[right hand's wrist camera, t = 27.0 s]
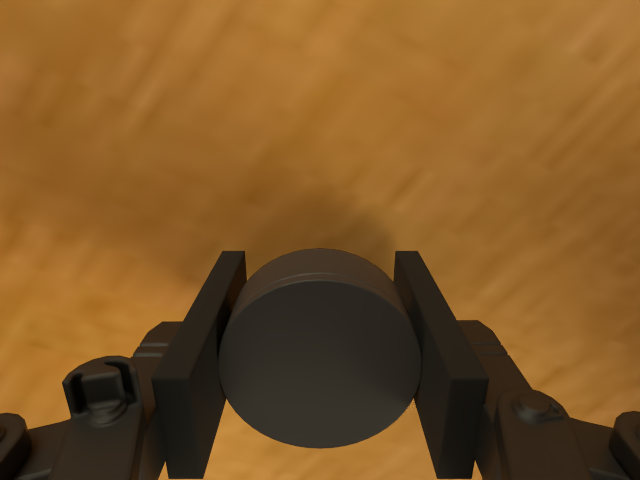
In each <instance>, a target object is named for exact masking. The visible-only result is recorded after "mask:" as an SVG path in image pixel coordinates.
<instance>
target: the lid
mask: <svg viewBox="0 0 640 480" xmlns="http://www.w3.org/2000/svg"><path fill="white" fill-rule="evenodd" d="M218 369H219V378H220V384H221V387H222V389H223V392H224V394H225V396H226V398H227V400H228V402H229V404H230V405H231V406H232V408H233V409H234V410H235V412H236V413H237V414H238V415H239V416H240V417H241V418H242V419H243V420H244V421H245V422H246V423H248V424H249V425H250V426H251V427H252V428H254V429H256V430H257V431H259V432H260V433H262V434H264V435H266V436H268V437H270V438H272V439H274V440H277V441H280V442H283V443H286V444H290V445H294V446H299V447H306V448H334V447H341V446H346V445H350V444H354V443H358V442H360V441H363V440H366V439H368V438H370V437H372V436H374V435H376V434H378V433H380V432H381V431H383V430H384V429H386V428H387V427H389V426H390V425H391V424H392V423H394V422H395V421H396V420H397V419H398V418H399V417H400V416H401V415H402V414H403V413H404V412H405V410H406V409H407V407H408V406H409V405H410V403H411V402H412V400H413V398H414V396H415V394H416V392H417V389H418V386H419V383H420V379H421V372H422V353H421V347H420V344H419V341H418V338H417V335H416V332H415V330H414V327H413V324H412V321H411V319H410V316H409V313H408V311H407V308H406V305H405V303H404V300H403V298H402V296H401V294H400V292H399V290H398V288H397V287H396V286H395V284H394V283H393V281H392V280H391V279H390V278H389V277H388V276H387V275H386V274H385V273H384V272H383V271H382V270H381V269H379V268H378V267H377V266H376V265H374V264H372V263H371V262H369V261H368V260H366V259H364V258H361V257H359V256H357V255H354V254H351V253H348V252H345V251H340V250H334V249H321V248H318V249H306V250H300V251H295V252H292V253H289V254H286V255H283V256H281V257H279V258H276V259H274V260H272V261H271V262H269V263H267V264H266V265H264V266H263V267H262V268H260V269H259V270H258V271H257V272H256V273H254V274H253V276H252V277H251V278H250V279H249V280H248V281H247V282H246V284H245V285H244V287H243V288H242V290H241V291H240V294H239V296H238V298H237V300H236V302H235V305H234V308H233V310H232V313H231V316H230V318H229V321H228V324H227V326H226V329H225V332H224V334H223V337H222V340H221V343H220V347H219V352H218Z"/></svg>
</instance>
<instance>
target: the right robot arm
mask: <svg viewBox="0 0 640 480" xmlns="http://www.w3.org/2000/svg"><path fill="white" fill-rule="evenodd" d="M246 282H247V278H246V263H245V251H222V253H221V255H220V257H219V258H218V260H217V262H216V264H215V265H214V267H213V269H212V271H211V273H210V274H209V276H208V278H207V280H206V281H205V283H204V285H203V287H202V289H201V290H200V292H199V294H198V296H197V297H196V299H195V301H194V303H193V305H192V306H191V308H190V310H189V312H188V313H187V315H186V317H185V319H184V321H183V322H161V323H160V324H159V325H157V326H156V327H154V328H153V329H152V330H150V331H149V332H148V333H147V334H146V336H145V337H144V339H143V340H142V342H141V343H140V347H138V348H137V349H136V351H135V352H134V354H133V357H131V358H127V357H123V356H105V357H101V358H97V359H93V360H91V361H88V362H86V363H84V364H82V365H80V366H78V367H77V368H75V369H74V370H73V371H71V372H70V373H69V374H68V375H67V376H66V378H65V379H64V380H63V382H62V385H63V388H64V392H65V396H66V399H67V403H68V407H69V410H70V414H71V418H70V419H69V420H66V421H62V422H59V423H55V424H50V425H46V426H42V427H37V428H33V429H29V430H28V429H27V426H26V422H25V420H24V419H23V418H22V417H21V416H19V415H18V414H12V413H2V414H0V480H158V478H159V476H160V473H161V471H162V468H163V466H164V463H165V461H166V466H167V472H168V477H169V479H203V477H204V474H205V470H206V467H207V463H208V460H209V456H210V453H211V450H212V446H213V443H214V439H215V436H216V432H217V429H218V426H219V422H220V419H221V415H222V412H223V408H224V405H225V402H226V396H225V394H224V392H223V389H222V387H221V384H220V378H219V369H218V352H219V347H220V343H221V340H222V337H223V334H224V332H225V329H226V326H227V324H228V321H229V318H230V316H231V313H232V310H233V308H234V305H235V302H236V300H237V298H238V296H239V294H240V291H241V290H242V288H243V287H244V285H245V284H246ZM393 283H394V284H395V286H396V287H397V288H398V290H399V292H400V294H401V296H402V298H403V300H404V303H405V305H406V308H407V311H408V313H409V316H410V319H411V321H412V324H413V327H414V330H415V332H416V335H417V338H418V341H419V344H420V347H421V353H422V372H421V379H420V383H419V386H418V389H417V392H416V394H415V396H414V401H415V404H416V408H417V411H418V414H419V418H420V421H421V425H422V428H423V432H424V435H425V438H426V442H427V445H428V449H429V452H430V456H431V459H432V462H433V466H434V469H435V473H436V476H437V479H472V473H473V468H474V462H475V461H476V463H477V466H478V468H479V471H480V473H481V475H482V480H640V412H637V411H631V412H624V413H622V414H621V415H619V416H618V417H617V418H616V420H615V424H614V427H613V428H611V427H606V426H602V425H597V424H593V423H589V422H584V421H580V420H577V419H574V418H570V417H569V415H568V414H567V412H566V411H565V409H564V408H563V406H562V405H560V404H559V403H558V402H557V401H556V400H554V399H553V398H552V397H550V396H548V395H546V394H544V393H542V392H540V391H536V390H533V389H532V388H531V387H530V385H529V384H528V382H527V381H526V379H525V378H524V376H523V375H522V373H521V372H520V370H519V369H518V368H517V366H516V365H515V363H514V362H513V360H512V359H511V357H510V356H509V355H508V354H507V351H506V350H505V348H504V347H503V345H501V343H500V341H499V340H498V338H497V337H496V335H495V334H494V332H493V331H492V330H491V329H489V328H488V327H487V326H485V325H484V324H482V323H481V322H480V321H478V320H456V318H455V316H454V315H453V313H452V311H451V309H450V308H449V306H448V304H447V302H446V300H445V299H444V297H443V295H442V293H441V292H440V290H439V288H438V286H437V284H436V283H435V281H434V279H433V277H432V276H431V274H430V272H429V270H428V269H427V267H426V265H425V263H424V261H423V260H422V258H421V256H420V254H419V253H418V251H396V253H395V267H394V281H393Z"/></svg>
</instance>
